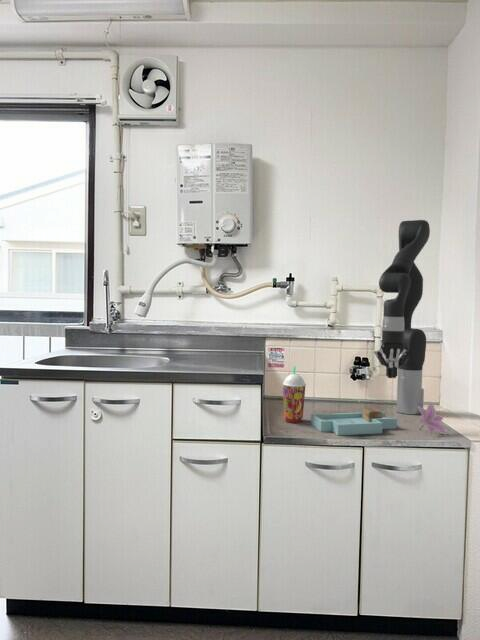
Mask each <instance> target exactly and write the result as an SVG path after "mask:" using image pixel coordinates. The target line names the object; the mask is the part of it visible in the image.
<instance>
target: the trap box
mask: <svg viewBox="0 0 480 640" xmlns="http://www.w3.org/2000/svg"><path fill="white" fill-rule="evenodd" d="M362 414H363V412H342V413H341V412H337V413H336V412H335V413H313V414H310V425H312V427H314V428H315V429H317V430H318V431H319V432H321V433H323V432H333V433H334V434H336V435H337V436H351V435H352V436H353V435H354V436H355V435H373V434H374V435H376V434H378V435H379V434H383V430H391V429H392V430H393V429H397V428H398V418H397V417H386V416H385V415H386V412H385V411H382V418H378V419H372V422H368V421H366V420H364V419H363V418H362Z"/></svg>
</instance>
